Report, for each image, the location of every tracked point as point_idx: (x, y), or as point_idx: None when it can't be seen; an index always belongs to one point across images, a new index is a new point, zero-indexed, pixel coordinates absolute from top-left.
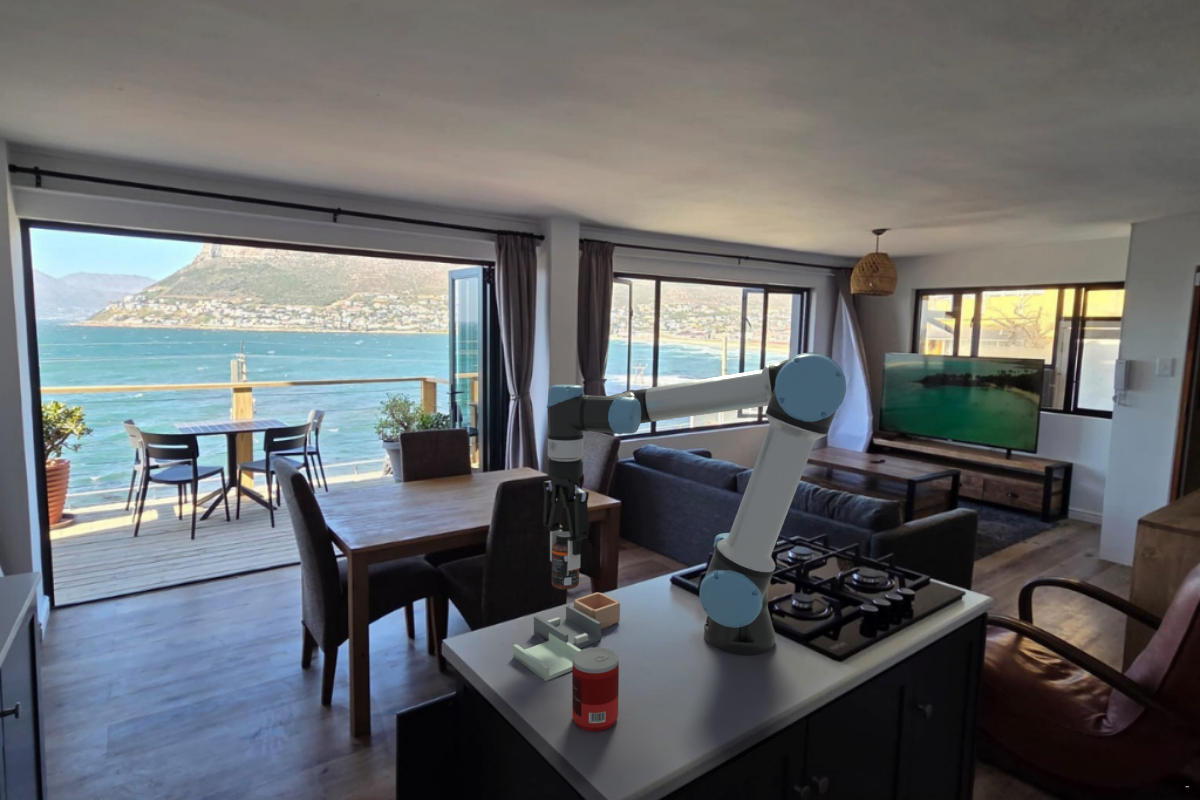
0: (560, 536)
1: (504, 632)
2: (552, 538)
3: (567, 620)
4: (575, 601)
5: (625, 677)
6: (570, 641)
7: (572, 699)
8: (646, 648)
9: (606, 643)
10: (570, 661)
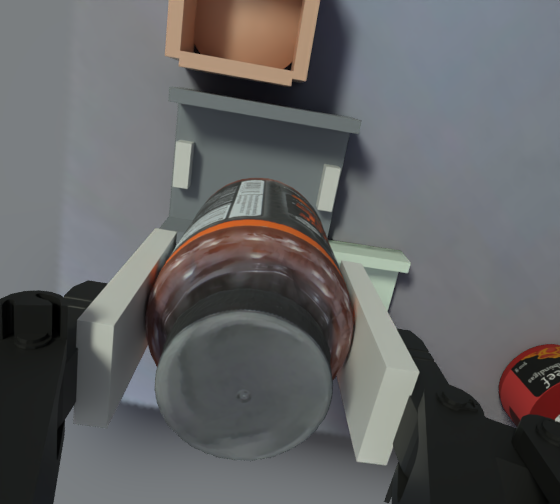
0: (257, 458)
1: (104, 270)
2: (126, 387)
3: (192, 107)
4: (182, 64)
5: (518, 228)
6: None
7: None
8: (494, 56)
9: (374, 118)
10: (373, 279)
